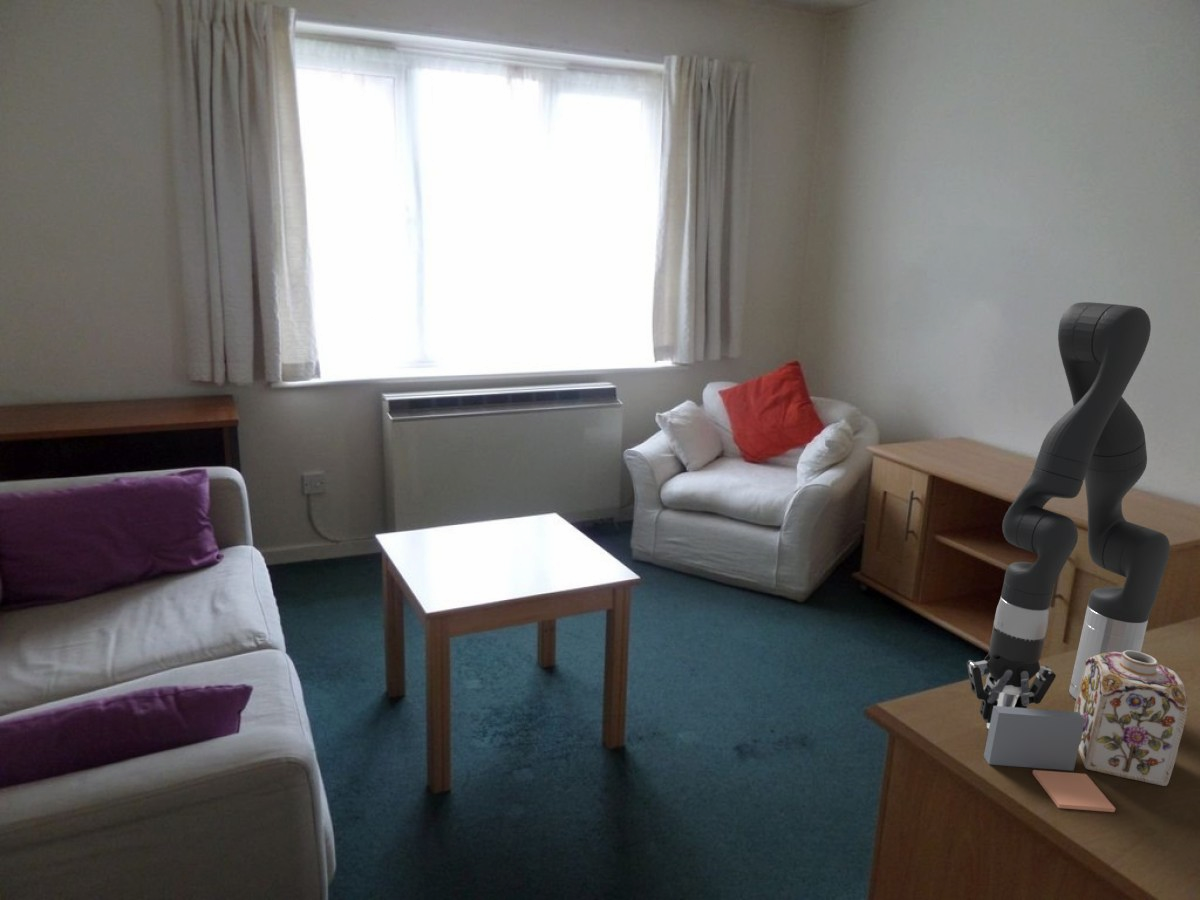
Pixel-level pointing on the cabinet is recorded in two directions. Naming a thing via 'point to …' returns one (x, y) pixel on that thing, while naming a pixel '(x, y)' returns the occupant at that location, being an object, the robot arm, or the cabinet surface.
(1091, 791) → the mat
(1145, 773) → the decorative jar
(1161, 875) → the cabinet surface
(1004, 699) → the milkshake
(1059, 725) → the screen
